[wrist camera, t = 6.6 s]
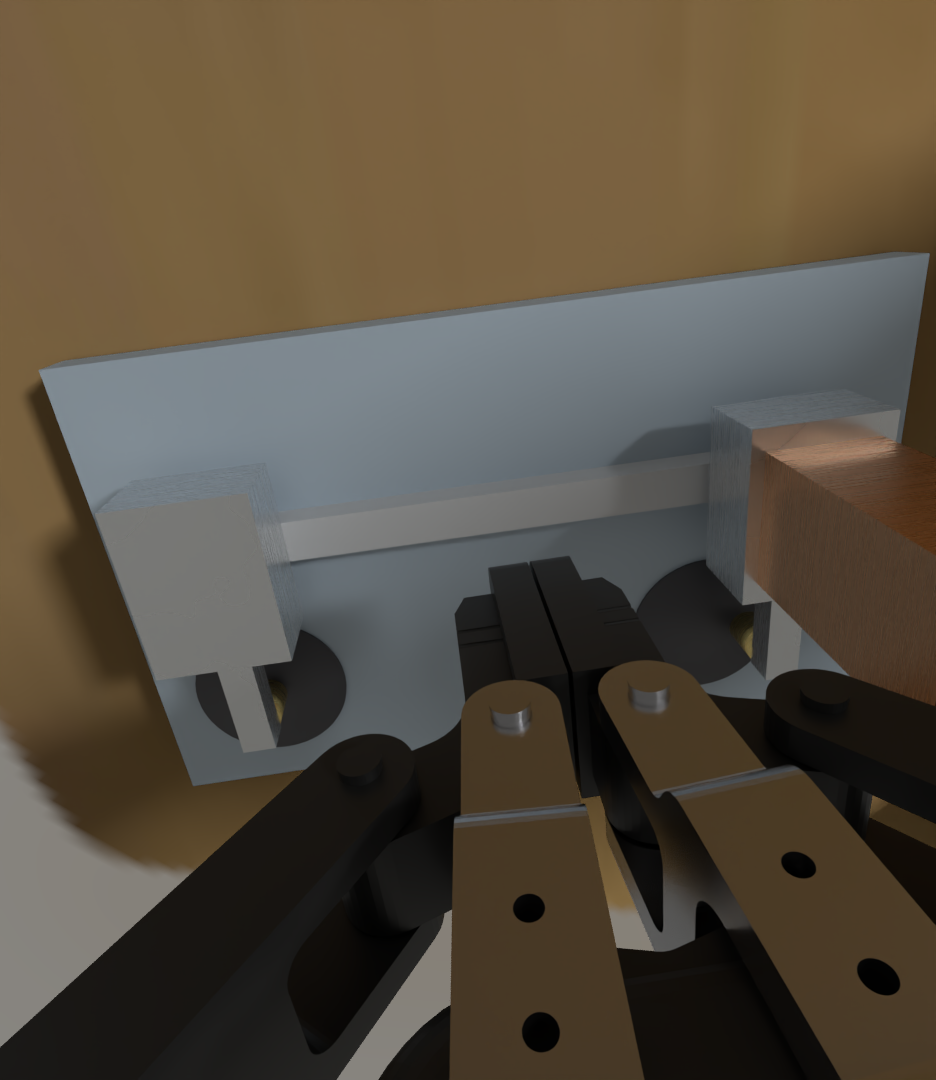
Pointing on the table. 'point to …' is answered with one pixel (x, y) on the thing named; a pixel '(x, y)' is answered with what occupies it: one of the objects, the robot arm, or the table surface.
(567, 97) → the table surface
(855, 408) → the sliding leg
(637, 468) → the bolt plate
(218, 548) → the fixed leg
